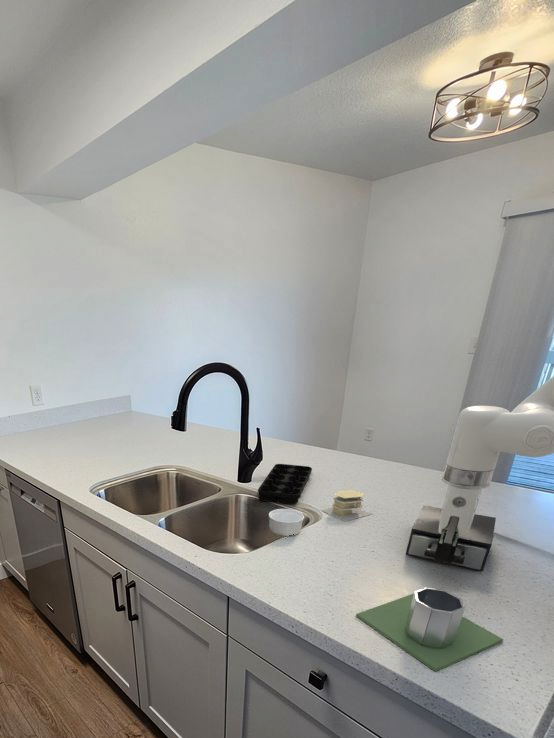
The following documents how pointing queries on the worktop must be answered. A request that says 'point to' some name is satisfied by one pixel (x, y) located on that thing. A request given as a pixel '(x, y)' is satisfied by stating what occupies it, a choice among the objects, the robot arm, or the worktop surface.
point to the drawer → (463, 555)
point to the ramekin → (285, 521)
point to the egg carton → (284, 483)
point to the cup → (434, 617)
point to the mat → (393, 627)
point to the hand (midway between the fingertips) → (443, 559)
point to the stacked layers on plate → (347, 506)
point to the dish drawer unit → (477, 535)
